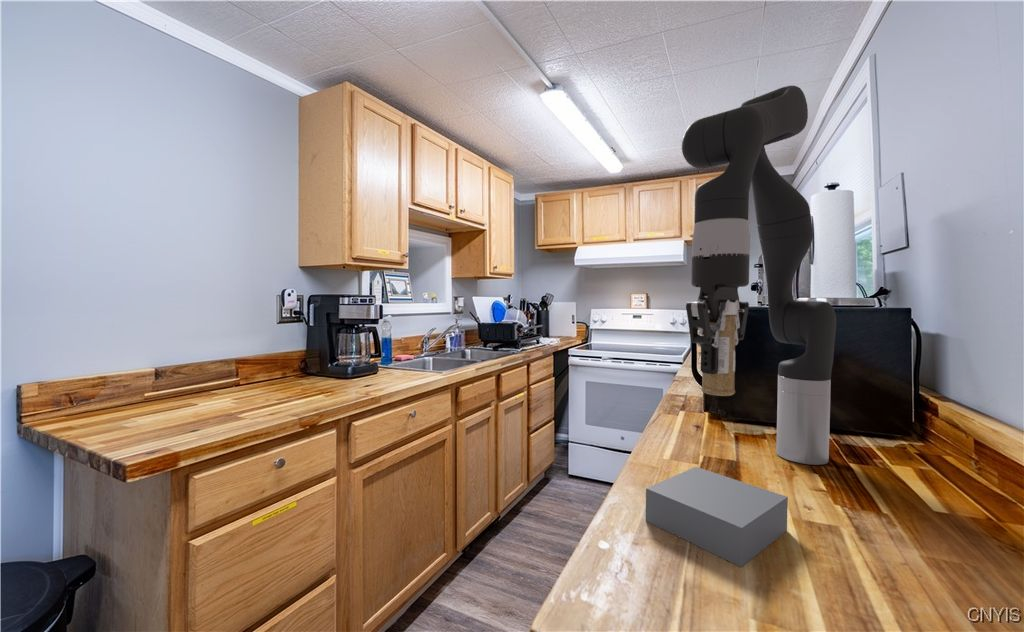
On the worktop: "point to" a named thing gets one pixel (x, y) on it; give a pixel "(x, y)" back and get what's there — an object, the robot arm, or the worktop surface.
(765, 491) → the grey block
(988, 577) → the worktop surface
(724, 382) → the spice jar
